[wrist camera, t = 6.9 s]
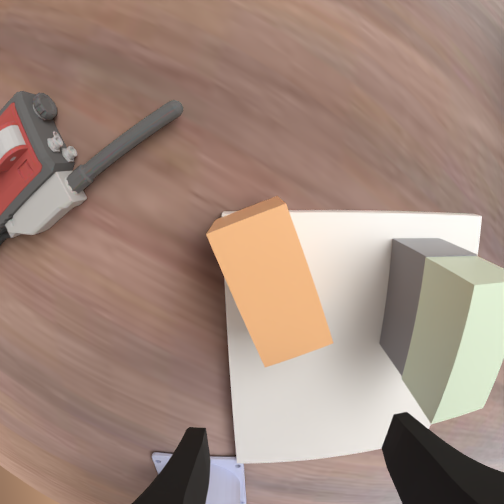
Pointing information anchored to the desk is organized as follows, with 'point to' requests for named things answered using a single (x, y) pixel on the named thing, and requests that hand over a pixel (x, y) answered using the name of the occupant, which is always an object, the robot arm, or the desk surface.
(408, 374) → the sage brick
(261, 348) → the terracotta brick
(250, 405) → the baseplate
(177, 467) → the robot arm
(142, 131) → the walkie-talkie
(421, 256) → the charcoal brick
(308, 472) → the desk surface
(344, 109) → the desk surface
